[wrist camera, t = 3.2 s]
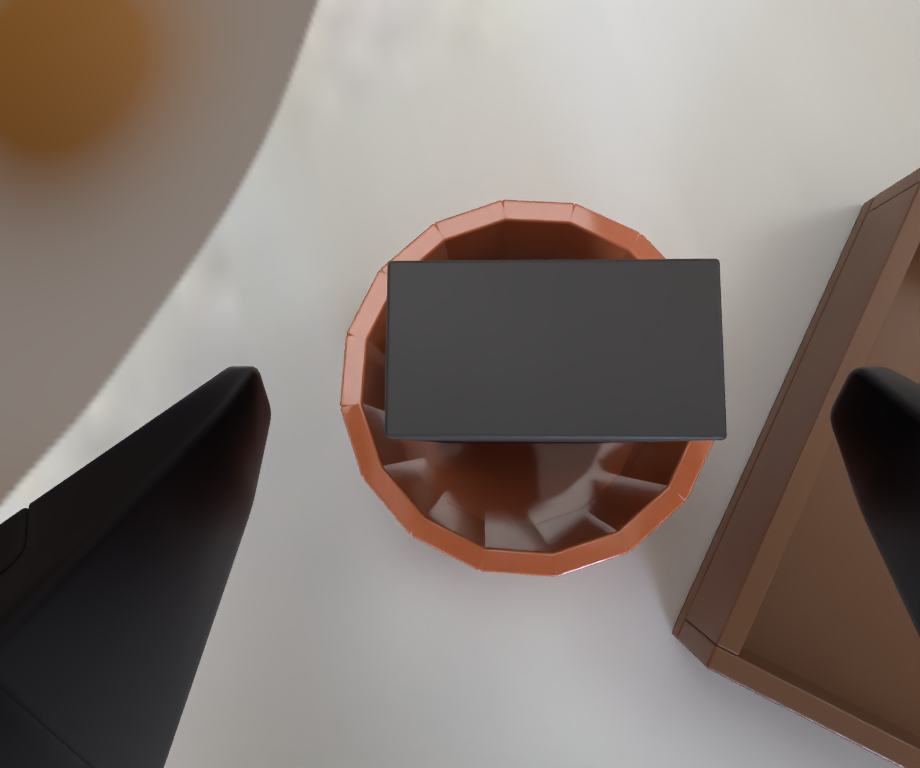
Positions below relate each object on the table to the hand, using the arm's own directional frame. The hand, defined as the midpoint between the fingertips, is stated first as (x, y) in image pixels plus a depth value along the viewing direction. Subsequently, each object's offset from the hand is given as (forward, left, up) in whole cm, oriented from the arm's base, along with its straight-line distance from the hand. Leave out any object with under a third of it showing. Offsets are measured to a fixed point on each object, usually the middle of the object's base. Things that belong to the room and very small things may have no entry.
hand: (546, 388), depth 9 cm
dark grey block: (0, 0, -8) cm, 8 cm away
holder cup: (0, 0, -9) cm, 9 cm away
